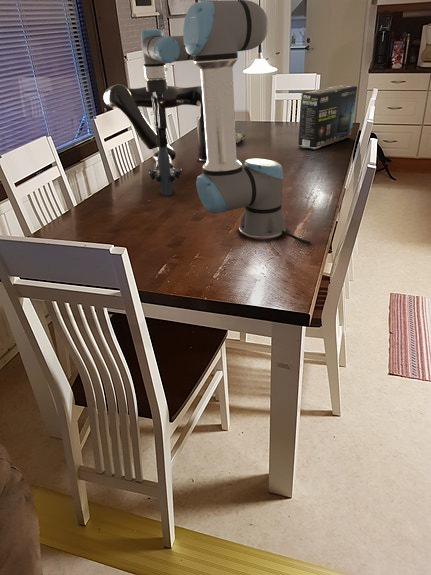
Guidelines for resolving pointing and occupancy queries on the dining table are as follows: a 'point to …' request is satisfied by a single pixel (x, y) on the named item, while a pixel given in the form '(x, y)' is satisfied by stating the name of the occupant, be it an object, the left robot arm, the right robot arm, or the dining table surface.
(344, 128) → the router box
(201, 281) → the dining table surface
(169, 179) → the bottle
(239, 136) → the fossil
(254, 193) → the right robot arm
